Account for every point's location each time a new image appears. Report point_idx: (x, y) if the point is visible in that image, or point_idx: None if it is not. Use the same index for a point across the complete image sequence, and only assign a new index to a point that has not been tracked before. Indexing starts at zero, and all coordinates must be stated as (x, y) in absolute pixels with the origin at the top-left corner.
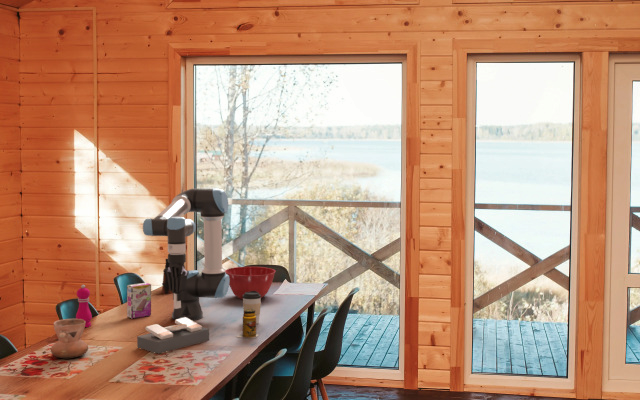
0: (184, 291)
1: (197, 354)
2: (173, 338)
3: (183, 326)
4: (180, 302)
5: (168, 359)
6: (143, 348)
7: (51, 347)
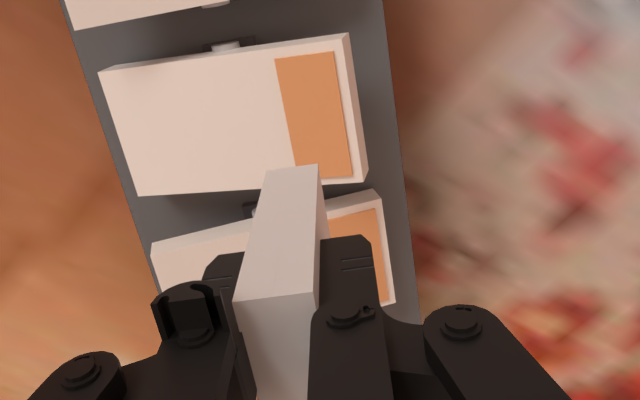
0: (490, 322)
1: (618, 96)
2: (405, 199)
3: (353, 86)
4: (318, 205)
5: (553, 288)
6: None
7: None
